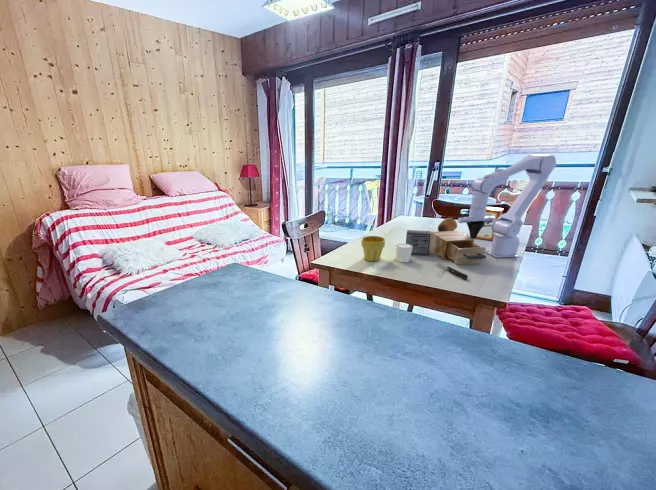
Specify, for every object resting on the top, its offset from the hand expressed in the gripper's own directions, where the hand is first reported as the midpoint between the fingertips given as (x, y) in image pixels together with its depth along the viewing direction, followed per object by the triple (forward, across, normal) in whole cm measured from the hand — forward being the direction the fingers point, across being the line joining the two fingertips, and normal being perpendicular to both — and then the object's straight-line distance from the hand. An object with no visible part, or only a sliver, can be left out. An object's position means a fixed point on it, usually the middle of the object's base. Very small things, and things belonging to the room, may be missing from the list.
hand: (472, 238), depth 143 cm
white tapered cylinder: (+10, +29, -2) cm, 31 cm away
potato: (+6, -10, -39) cm, 41 cm away
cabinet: (+9, +5, -8) cm, 13 cm away
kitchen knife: (+10, +16, +14) cm, 23 cm away
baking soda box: (+10, -24, -27) cm, 37 cm away
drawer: (+8, +5, +4) cm, 11 cm away
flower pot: (+10, +42, -6) cm, 43 cm away
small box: (+10, +19, -11) cm, 24 cm away
